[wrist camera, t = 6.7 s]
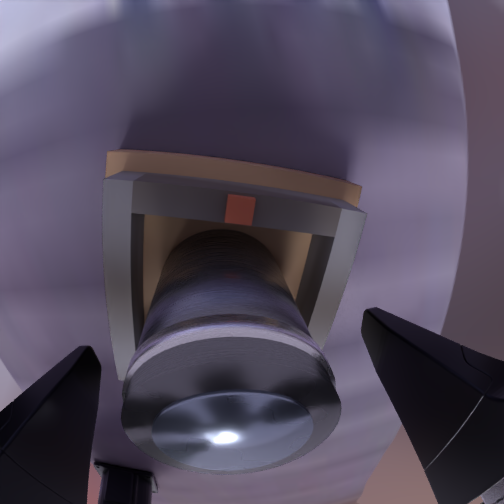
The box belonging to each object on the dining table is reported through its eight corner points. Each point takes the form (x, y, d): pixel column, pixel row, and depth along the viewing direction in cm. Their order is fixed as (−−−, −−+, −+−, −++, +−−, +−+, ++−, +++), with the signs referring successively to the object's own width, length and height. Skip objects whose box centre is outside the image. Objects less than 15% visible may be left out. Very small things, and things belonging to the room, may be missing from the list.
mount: (297, 354, 16) (315, 403, 12) (122, 340, 14) (105, 391, 11) (346, 180, 12) (392, 199, 9) (119, 149, 10) (81, 156, 7)
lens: (307, 274, 12) (386, 406, 6) (231, 351, 13) (249, 488, 7) (208, 198, 10) (198, 312, 4) (136, 296, 12) (88, 440, 5)
